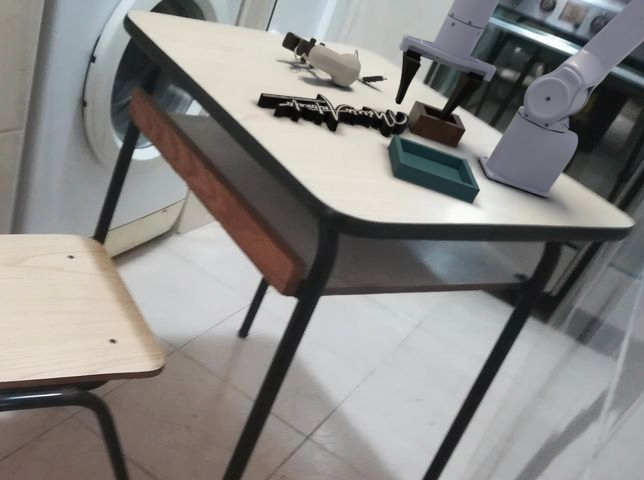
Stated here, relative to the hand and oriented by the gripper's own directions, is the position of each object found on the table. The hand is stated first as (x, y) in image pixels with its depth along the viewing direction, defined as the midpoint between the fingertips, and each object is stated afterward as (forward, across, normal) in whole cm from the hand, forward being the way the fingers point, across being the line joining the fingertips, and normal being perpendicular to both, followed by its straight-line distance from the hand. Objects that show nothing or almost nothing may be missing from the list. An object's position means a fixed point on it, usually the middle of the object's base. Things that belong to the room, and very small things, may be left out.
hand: (420, 110), depth 106 cm
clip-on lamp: (+3, +14, -12) cm, 19 cm away
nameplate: (+3, +13, +9) cm, 16 cm away
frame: (+3, -3, 0) cm, 4 cm away
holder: (+3, 0, +20) cm, 20 cm away
